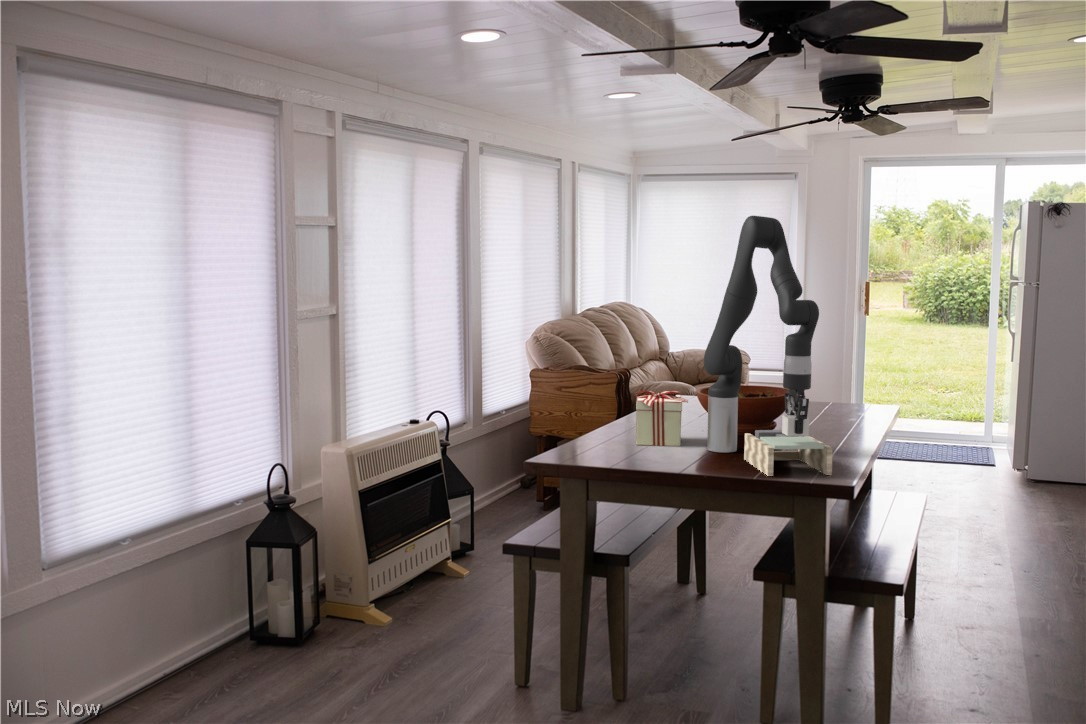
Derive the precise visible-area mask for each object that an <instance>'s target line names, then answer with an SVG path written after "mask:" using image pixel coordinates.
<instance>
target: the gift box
mask: <svg viewBox="0 0 1086 724" xmlns="http://www.w3.org/2000/svg"><path fill="white" fill-rule="evenodd" d="M634 393H635V396H636V402H635V403H636V404H635V406H636V407H635V410H636V413H635V414H636V415H635V418H636V421H635V423H636V424H635V427H636V428H635V430H636V432H635V433H636V435H635V443H636V444H635V445H637V446H651V447H652V446H653V447H655V446H656V447H681V438H682V437H681V435H682V434H681V433H682V432H681V431H682V430H681V429H682V412H683V403H689V399H686V398H682V392H680V391H678V390H672V391H668V390H663V391H662V392H660V393H659V392H658V393H656V392H654V391H652V390H639V391H636V392H634Z"/></svg>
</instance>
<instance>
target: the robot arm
mask: <svg viewBox="0 0 1086 724" xmlns="http://www.w3.org/2000/svg"><path fill="white" fill-rule="evenodd" d="M756 248H759V249H766V250H767V249H768V250H769V251H770V253H771V255H772V257H773V262H772V264H771V267H770V282H771V283H772V286H773V289H774V291H775V294H776V295H777V300H778V310H779V311H778V312H779V313H778V314H779V318H780V321H781V322H782V323H783V324H785V325H787V326H799V329H798V331H796V332H795V333H791V334H788V335H787V336H786V337H785V341H784V345H785V346H784V358H783V359H784V360H783V373H782V377H783V379H782V387H783V388H784V389H786V390H788V392H785V393H784V410H785V411H784V412H785V415H795V433H796V434H802V433H803V420H805V419H807V417H808V412H809V405H810V399H809V398H806V395H805V391H806V390H807V391H808V390H810V389H812V388H811V387H812V367H813V366H812V365H813V364H812V363H813V362H812V341H813V337H814V334H815V330H816V327H817V325H818V322H819V317H820V309H819V306H818V304H817V303H816V302H815V301H814V300H812V299H799V298H800V297H801V296H802V294H803V287H802V285H801V283H800V279H799V278H798V276H797V273H796V271H795V269H794V266H793V263H792V260H791V256H790V253H789V251H790V250H789V247H788V243H787V238H786V235H785V231H784V229H783V225H782V224H781V222H780V221H779V219H777V218H774V217H768V216H762V215H749V216H748V217H746V219H745V220H744V222H743V224H742V226H741V230H740V235H739V239H738V244H737V248H736V253H735V259H734V264H733V267H732V270H731V274H730V277H729V280H728V284H727V287H726V290H725V293H724V296H723V300H722V303H721V307H720V312H719V315H718V317H717V320H716V323H715V326H714V329H713V331H712V334H711V337H710V339H709V341H708V344H707V347H706V349H705V352H704V356H703V367H704V370H705V372H706V373H707V374H708V375H710V376H718V379H717V380H716V381H715V383H713V384H712V385H710V386H709V387H708V392H707V399H708V401H707V437H706V438H707V440H706V443H707V445H706V446H707V447H706V449H707V450H708V451H710V452H714V453H734V452H737V450H738V414H739V413H738V412H739V411H738V409H739V392H740V390H741V385H742V374H743V356H742V352H741V350H740V349H739V348H738V347H737V346H736V345H731V341H732V339H733V337H734V335H735V334H736V333H737V331H738V330H739V329H740V327H741V326H742V325H743V324H744V323H745V322H746V320H747V319H748V318H749V316H750V315H751V313H752V311H753V309H754V306H755V302H756V299H757V296H758V283H757V280H756V277H755V274H754V269H753V257H754V252H755V250H756Z"/></svg>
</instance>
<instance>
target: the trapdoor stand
mask: <svg viewBox="0 0 1086 724" xmlns="http://www.w3.org/2000/svg"><path fill="white" fill-rule="evenodd" d="M799 437H803V436H799ZM807 437H809V438H811V439H813V440H815V441H817V442H819V443H821V444H823V445H824V449H797V450H775V449H774V448H773V447H771V446H770V445H768V444H766V443H765V442H763V441H762V440H760V439H758V438H757V437H755V435H753V434H751V432H750V433H748V432H746V433H744V447H743V449H744V451H743V452H744V453H743V460H744V461H745V460H746V463H748V462H749V463H748V464H750V465H751V466H752V465H753V467H754V468H755V469H756V468H757V469H756V470H758V471H759V470H760V473H762V472H763V473H764V474H763V473H762V474H763V475H765V474H766V475H767V476H773V477H774V461H797V460H796V459H800V460H802V461H803V462H802V461H801V462H802V463H804V462H805V463H807V464H809V465H810V466H812V467H813V468H812V467H811V468H812V469H814V468H815V469H817V470H819V471H821V472H822V473H824V474H825V475H832V476H833V448H834V447H832V446H831V445H829V444H826V443H825V442H823V441H821V440H819V439H816V438H814V437H812V436H810V435H809V436H807ZM800 460H799V461H800ZM805 463H804V464H805ZM807 464H806V465H807ZM809 465H808V466H809ZM810 466H809V467H810ZM815 469H814V470H815ZM817 470H816V471H817ZM819 471H818V472H819ZM822 473H821V474H822ZM824 474H823V475H824ZM766 475H765V476H766ZM825 475H824V476H825ZM767 476H766V477H767Z"/></svg>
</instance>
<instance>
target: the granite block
mask: <svg viewBox="0 0 1086 724" xmlns="http://www.w3.org/2000/svg"><path fill="white" fill-rule="evenodd" d="M781 421H782V422H781V430H782V433H783V434H785V435H787V436H810V417H809V416H807V419H805V420H803V433H802V434H796V433H795V415H787V414H785V415H784V414H783V415H782V419H781Z"/></svg>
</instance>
